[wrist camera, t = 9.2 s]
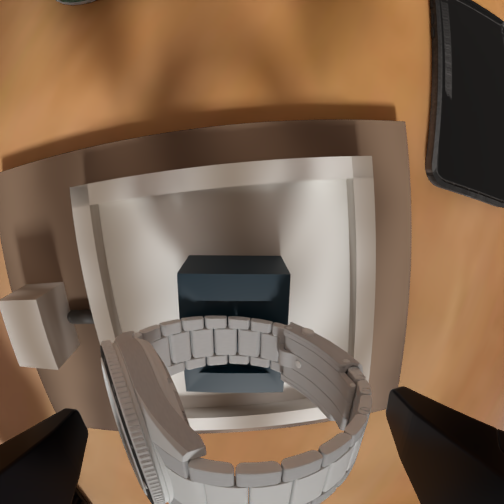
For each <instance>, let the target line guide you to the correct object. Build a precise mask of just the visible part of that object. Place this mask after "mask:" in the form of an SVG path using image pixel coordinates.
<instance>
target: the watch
mask: <svg viewBox="0 0 504 504" xmlns="http://www.w3.org/2000/svg"><path fill="white" fill-rule="evenodd" d="M290 278H291V274H290V272H289V270H288V268H287V266H286V265H285V263H284V261H283V259H282V257H281V256H240V255H189V256H188V258H187V259H186V261H185V262H184V264H183V265H182V267H181V268H180V270H179V271H178V273H177V285H178V303H179V318H180V319H175V320H170V321H166V322H161V323H159V325H153V326H150V327H147V328H144V329H142V330H140V331H139V332H137V333H135V332H134V331H128V332H123V333H121V334H120V335H119V336H117V337H116V338H115V341H114V343H111V341H110V340H106V341H101V345H100V352H101V365H102V371H103V376H104V381H105V385H106V389H107V393H108V397H109V400H110V404H111V407H112V411H113V414H114V418H115V421H116V424H117V427H118V430H119V433H120V436H121V439H122V442H123V445H124V447H125V450H126V453H127V455H128V458H129V460H130V463H131V465H132V468H133V470H134V472H135V475H136V477H137V479H138V481H139V483H140V485H141V487H142V489H143V491H144V493H145V494H146V496H147V497H148V499H149V500H150V502H151V503H152V504H165V503H166V502H168V503H169V504H248V487H249V504H320V503H321V502H323V501H324V500H325V499H327V498H328V497H329V496H330V495H331V494H332V493H333V492H334V491H335V490H336V487H339V486H340V485H341V484H342V483H343V482H344V480H345V479H346V478H347V476H348V475H349V473H350V471H351V470H352V467H353V465H354V463H355V460H356V457H357V454H358V451H359V448H360V445H361V442H362V438H363V435H364V432H365V428H366V425H367V422H368V418H369V415H370V411H371V407H372V396H371V393H372V391H371V388H370V385H369V383H368V381H367V380H366V377H365V376H364V374H363V366H362V365H361V364H360V363H359V362H358V361H357V360H355V359H354V358H353V357H352V356H350V355H349V354H348V353H347V352H345V351H344V350H342V349H341V348H340V347H338V346H337V345H335V344H334V343H332V342H331V341H329V340H327V339H326V338H324V337H322V336H320V335H318V334H316V333H314V331H313V330H311V329H309V328H304V327H302V326H300V325H297V324H295V323H293V322H290V324H289V325H288V315H289V297H290ZM183 371H184V376H185V385H186V391H188V392H212V393H273V392H283V388H284V382H285V383H287V384H288V385H290V386H291V387H293V388H294V389H296V390H297V391H299V392H300V393H301V394H303V395H304V396H305V397H307V398H308V399H309V400H310V401H311V402H312V403H313V404H314V405H316V406H317V407H318V408H319V409H320V411H321V412H322V413H323V414H324V415H325V416H326V417H327V418H328V419H329V420H331V421H336V423H337V425H338V427H339V429H340V430H344V433H339V434H337V435H336V436H335V437H333V438H332V439H330V440H329V441H327V442H325V443H324V444H322V445H321V446H320V447H319V450H318V451H316V450H310V451H307V452H305V453H302V454H299V455H296V456H292V457H288V458H285V459H283V460H282V462H281V466H280V464H279V463H277V462H275V461H268V462H250V463H239V464H238V465H237V466H236V476H234V467H233V465H232V464H231V463H228V462H221V461H214V460H208V459H203V458H198V457H202V456H205V455H206V447H205V445H204V443H203V441H202V439H201V437H200V436H199V435H198V434H197V433H196V432H195V431H194V430H193V429H192V428H191V427H190V425H189V422H188V419H187V416H186V413H185V410H184V408H183V405H182V402H181V400H180V397H179V394H178V392H177V389H176V387H175V385H174V382H173V380H172V378H171V376H172V375H175V374H177V373H180V372H183Z"/></svg>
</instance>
